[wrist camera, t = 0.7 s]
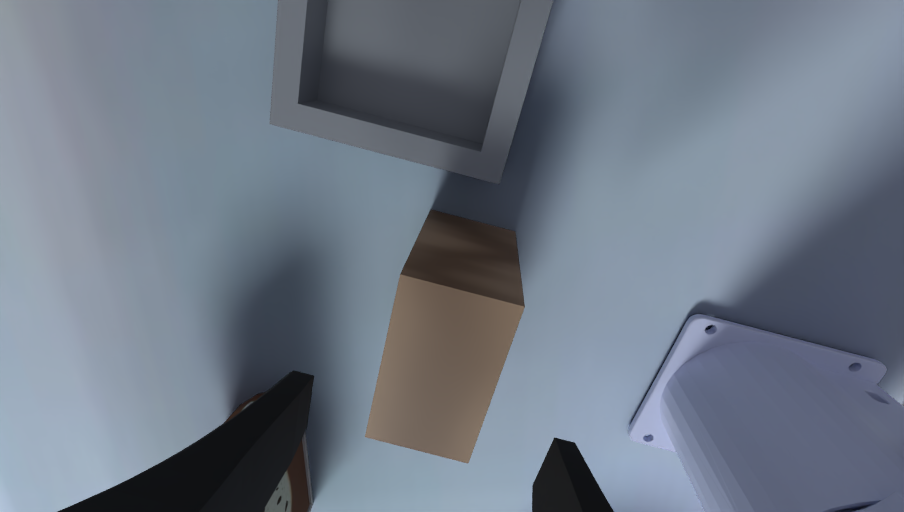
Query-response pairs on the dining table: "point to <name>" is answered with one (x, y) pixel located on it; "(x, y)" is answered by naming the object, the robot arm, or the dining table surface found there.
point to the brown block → (447, 336)
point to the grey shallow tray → (409, 76)
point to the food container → (290, 479)
